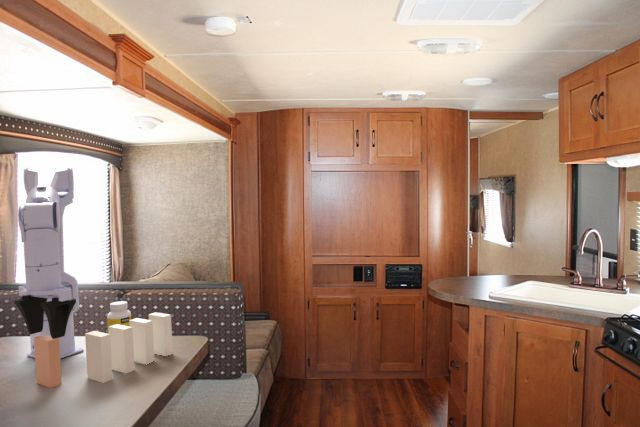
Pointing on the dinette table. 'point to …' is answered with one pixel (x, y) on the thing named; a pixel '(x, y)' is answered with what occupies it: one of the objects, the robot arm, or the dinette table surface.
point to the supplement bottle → (119, 314)
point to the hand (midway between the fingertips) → (46, 335)
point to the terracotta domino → (47, 361)
